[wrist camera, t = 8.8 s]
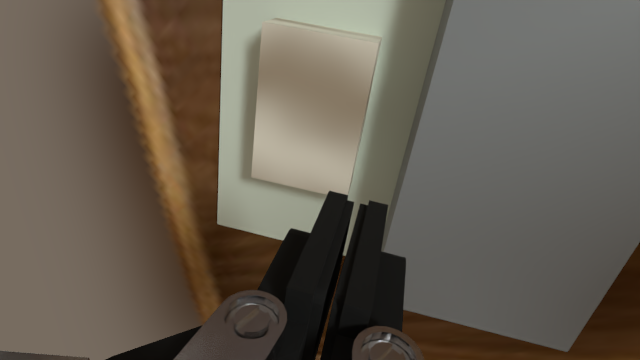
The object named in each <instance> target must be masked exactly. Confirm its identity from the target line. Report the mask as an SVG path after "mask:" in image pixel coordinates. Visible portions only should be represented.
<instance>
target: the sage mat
mask: <svg viewBox="0 0 640 360" xmlns="http://www.w3.org/2000/svg"><path fill="white" fill-rule="evenodd" d="M445 2H446V0H223V20H222V59H221V97H220V136H219V174H218V213H217V224H219V225H223V226H227V227H231V228H235V229H239V230H243V231H247V232H251V233H255V234H259V235H263V236H267V237H271V238H275V239H279V240H284V239H285V237H286V235H287V233H288V231H289V230H290V229H291V228H293V229H297V230H301V231H305V232H309V233H311V231H312V228H313V226H314V224H315V222H316V219H317V217H318V215H319V212H320V210H321V208H322V206H323V203H324V201H325V199H326V196H327V195H326V194H322V193H317V192H313V191H309V190H304V189H300V188H296V187H291V186H287V185H283V184H278V183H274V182H270V181H266V180H261V179H257V178H253V177H251V174H252V159H253V145H254V131H255V117H256V103H257V88H258V74H259V60H260V46H261V32H262V22H263V21H267V20H271V19H274V18H281V19H287V20H292V21H298V22H303V23H309V24H314V25H319V26H325V27H330V28H336V29H341V30H347V31H352V32H358V33H363V34H369V35H374V36H380V37H382V41H381V46H380V51H379V55H378V60H377V65H376V70H375V75H374V79H373V84H372V89H371V94H370V99H369V103H368V108H367V113H366V118H365V122H364V127H363V132H362V137H361V142H360V146H359V151H358V156H357V161H356V166H355V170H354V175H353V180H352V184H351V187H350V190H349V194H348V200H349V201H353V202H354V206H353V211H352V216H351V220H350V225H349V229H348V234H347V239H346V243H345V248H344V252H343V255H344V256H346V253H347V250H348V246H349V242H350V239H351V235H352V232H353V228H354V224H355V221H356V217H357V214H358V210H359V206H360V203H361V204H365V205H368V203H369V200H370V201H374V202H378V203H383V204H387V205H388V210H387V216H388V213H389V209H390V205H391V202H392V198H393V194H394V190H395V187H396V183H397V179H398V176H399V172H400V168H401V165H402V161H403V157H404V153H405V150H406V146H407V142H408V139H409V135H410V131H411V128H412V124H413V120H414V116H415V113H416V109H417V105H418V102H419V98H420V94H421V91H422V87H423V83H424V79H425V76H426V72H427V68H428V65H429V61H430V57H431V54H432V50H433V46H434V42H435V39H436V35H437V31H438V28H439V24H440V20H441V16H442V13H443V9H444V5H445ZM387 216H386V220H387ZM385 224H386V223H385Z"/></svg>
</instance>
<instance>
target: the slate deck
mask: <svg viewBox="0 0 640 360" xmlns="http://www.w3.org/2000/svg"><path fill="white" fill-rule="evenodd" d="M639 242H640V0H446V2H445V5H444V9H443V13H442V16H441V20H440V24H439V28H438V31H437V35H436V39H435V42H434V46H433V50H432V54H431V57H430V61H429V65H428V68H427V72H426V76H425V79H424V83H423V87H422V91H421V94H420V98H419V102H418V105H417V109H416V113H415V116H414V120H413V124H412V128H411V131H410V135H409V139H408V142H407V146H406V150H405V153H404V157H403V161H402V165H401V168H400V172H399V176H398V179H397V183H396V187H395V190H394V194H393V198H392V202H391V205H390V209H389V213H388V216H387V220H386V224H385V229H384V236H383V242H382V249H381V251H382V252H386V253H390V254H394V255H397V256H401V257H405V258H406V273H405V289H404V306H403V310H407V311H411V312H415V313H419V314H423V315H426V316H430V317H434V318H438V319H442V320H446V321H450V322H453V323H457V324H461V325H465V326H469V327H473V328H477V329H480V330H484V331H488V332H492V333H496V334H500V335H504V336H507V337H511V338H515V339H519V340H523V341H527V342H531V343H534V344H538V345H542V346H546V347H550V348H554V349H557V350H561V351H565V352H568V350H569V349H570V347H571V346H572V344H573V343H574V341H575V340H576V338H577V337H578V335H579V334H580V332H581V331H582V329H583V328H584V326H585V325H586V323H587V321H588V320H589V318H590V317H591V315H592V314H593V312H594V311H595V309H596V308H597V306H598V305H599V303H600V302H601V300H602V299H603V297H604V296H605V294H606V293H607V291H608V289H609V288H610V286H611V285H612V283H613V282H614V280H615V279H616V277H617V276H618V274H619V273H620V271H621V270H622V268H623V267H624V265H625V264H626V262H627V261H628V259H629V257H630V256H631V254H632V253H633V251H634V250H635V248H636V247H637V245H638V244H639Z"/></svg>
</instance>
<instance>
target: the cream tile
mask: <svg viewBox="0 0 640 360" xmlns="http://www.w3.org/2000/svg"><path fill="white" fill-rule="evenodd" d="M381 41H382V37H380V36H374V35H369V34H363V33H358V32H352V31H347V30H341V29H336V28H330V27H325V26H319V25H314V24H309V23H303V22H298V21H292V20H287V19H281V18H274V19H271V20H267V21H263V22H262V32H261V46H260V60H259V74H258V88H257V103H256V117H255V131H254V145H253V159H252V174H251V177H253V178H257V179H261V180H266V181H270V182H274V183H278V184H283V185H287V186H291V187H296V188H300V189H304V190H309V191H313V192H317V193H322V194H326V195H327V194H328V192H329V191H333V192H337V193H341V194H345V195H348V194H349V190H350V187H351V184H352V180H353V175H354V170H355V166H356V161H357V156H358V151H359V146H360V142H361V137H362V132H363V127H364V122H365V118H366V113H367V108H368V103H369V99H370V94H371V89H372V84H373V79H374V75H375V70H376V65H377V60H378V55H379V51H380V46H381Z"/></svg>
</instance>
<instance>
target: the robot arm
mask: <svg viewBox="0 0 640 360" xmlns="http://www.w3.org/2000/svg"><path fill="white" fill-rule="evenodd" d="M353 206H354V202H353V201H349V200H348V195H345V194H341V193H337V192H333V191H329V192H328V194H327V196H326V199H325V201H324V203H323V206H322V208H321V210H320V212H319V215H318V217H317V219H316V222H315V224H314V226H313V228H312V231H311V233H309V232H305V231H301V230H297V229H293V228H291V229H290V230H289V231H288V233H287V235H286V237H285V239H284V240H283V242H282V244H281V246H280V248H279V250H278V252H277V254H276V256H275V258H274V259H273V261H272V263H271V265H270V267H269V269H268V271H267V273H266V275H265V276H264V278H263V280H262V282H261V284H260V286H259V288H258V290H247V291H242V292H238V293H236V294H234V295H232V296H230V297H228V298H227V299H226V300H225V301H224V302H223V303H222V304H221V305H220V306H219V307H218V308H217V310H216V311H215V312H214V313H213V314H212V315H211V317H210V318H209V319H208V320H207V321H206V322H205V323H204V325H202V326H199V327H196V328H194V329H191V330H188V331H185V332H182V333H179V334H176V335H173V336H170V337H167V338H165V339H162V340H159V341H156V342H153V343H150V344H147V345H144V346H141V347H138V348H135V349H133V350H130V351H127V352H124V353H121V354H118V355H115V356H112V357H110V358H108V359H106V360H315V358H316V354H317V351H318V347H319V344H320V340H321V337H322V333H323V330H324V326H325V323H326V319H327V315H328V312H329V308H330V305H331V301H332V298H333V294H334V291H335V287H336V283H337V279H338V275H339V271H340V266H341V262H342V257H343V252H344V248H345V243H346V239H347V234H348V229H349V225H350V220H351V216H352V211H353ZM387 210H388V205H387V204H383V203H378V202H374V201H370V200H369V203H368V205H365V204H361V203H360V206H359V210H358V214H357V217H356V221H355V224H354V228H353V232H352V235H351V239H350V242H349V246H348V250H347V253H346V257H345V260H344V264H343V268H342V271H341V275H340V278H339V282H338V286H337V289H336V293H335V297H334V301H333V305H332V309H331V314H330V318H329V323H328V327H327V332H326V336H325V341H324V346H323V350H322V355H321V359H320V360H424V358H423V355H422V352H421V350H420V349H419V347H418V346H417V344H416V343H415V342H414V341H413V340H412V339H411V338H410V337H408V336H407V335H406V334H404V333H402V322H403V306H404V289H405V273H406V258H405V257H401V256H397V255H394V254H390V253H386V252H382V251H381V249H382V242H383V236H384V229H385V223H386V216H387ZM0 360H90V359H89V358H85V357H72V356H59V355H47V354H34V353H20V352H8V351H0Z"/></svg>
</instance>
